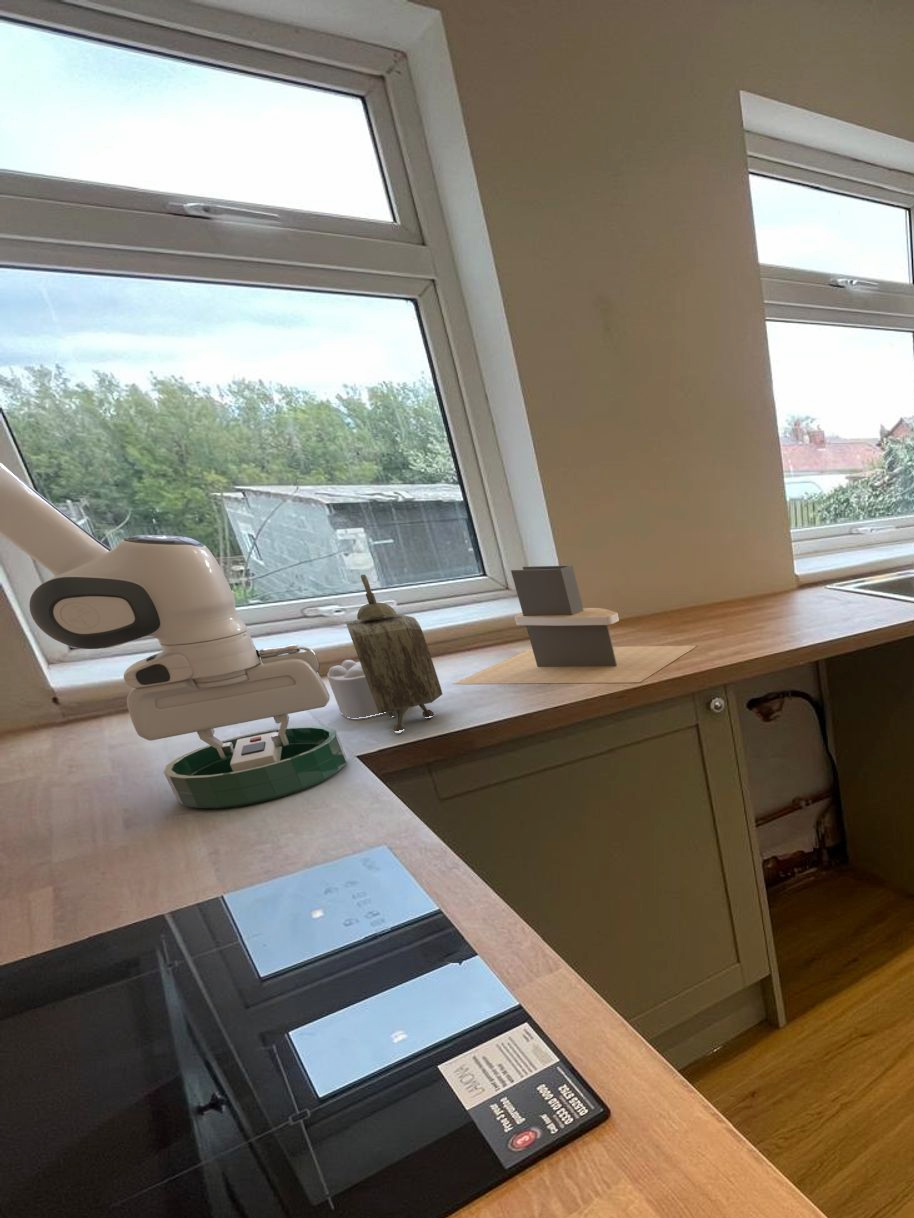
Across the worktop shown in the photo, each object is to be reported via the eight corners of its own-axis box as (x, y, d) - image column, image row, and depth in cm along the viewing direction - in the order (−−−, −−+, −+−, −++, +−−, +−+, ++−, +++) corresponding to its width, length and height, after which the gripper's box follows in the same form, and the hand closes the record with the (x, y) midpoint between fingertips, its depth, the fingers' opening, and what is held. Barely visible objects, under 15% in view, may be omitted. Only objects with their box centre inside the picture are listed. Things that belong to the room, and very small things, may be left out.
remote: (278, 769, 112) (271, 753, 111) (236, 779, 110) (228, 762, 109) (282, 745, 121) (276, 729, 120) (243, 753, 119) (236, 737, 118)
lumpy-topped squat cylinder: (351, 722, 139) (333, 674, 135) (332, 707, 147) (315, 661, 143) (421, 705, 146) (405, 659, 142) (399, 692, 154) (384, 648, 150)
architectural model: (697, 645, 177) (679, 554, 169) (639, 682, 154) (616, 578, 146) (533, 647, 181) (508, 558, 173) (452, 683, 157) (420, 582, 150)
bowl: (171, 825, 105) (154, 790, 103) (189, 780, 118) (174, 748, 116) (348, 783, 115) (336, 751, 113) (346, 746, 128) (335, 716, 127)
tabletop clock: (380, 717, 141) (328, 573, 131) (440, 705, 146) (395, 565, 136) (388, 740, 130) (332, 585, 120) (453, 725, 136) (405, 575, 126)
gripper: (311, 637, 117) (345, 726, 123) (115, 668, 106) (162, 764, 112) (310, 646, 113) (346, 737, 118) (105, 679, 101) (155, 778, 107)
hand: (255, 750), depth 115 cm, fingers closed on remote, 4 cm apart
